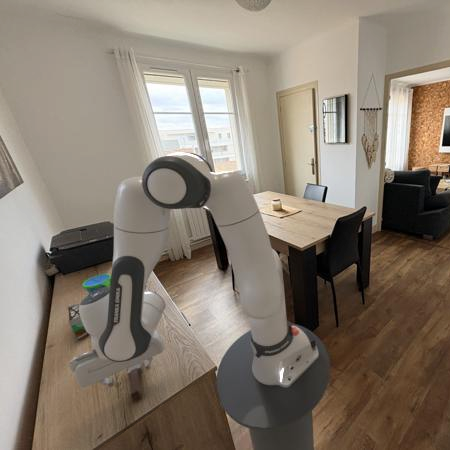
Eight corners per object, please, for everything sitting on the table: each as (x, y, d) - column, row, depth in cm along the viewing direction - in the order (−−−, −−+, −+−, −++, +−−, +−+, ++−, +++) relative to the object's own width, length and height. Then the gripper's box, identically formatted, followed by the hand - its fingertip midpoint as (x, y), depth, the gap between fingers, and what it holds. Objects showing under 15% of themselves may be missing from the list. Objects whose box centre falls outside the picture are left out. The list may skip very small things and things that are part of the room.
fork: (144, 395, 70) (141, 388, 69) (130, 403, 68) (126, 396, 67) (142, 362, 81) (139, 356, 80) (129, 368, 79) (127, 361, 78)
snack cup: (125, 294, 117) (118, 276, 113) (102, 308, 108) (93, 289, 104) (106, 288, 123) (99, 271, 119) (82, 300, 114) (74, 282, 110)
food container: (99, 333, 94) (89, 313, 90) (78, 342, 90) (68, 322, 87) (95, 317, 102) (86, 298, 99) (76, 325, 99) (67, 306, 95)
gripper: (63, 370, 58) (84, 407, 63) (158, 331, 69) (169, 365, 74) (68, 352, 63) (87, 387, 68) (156, 318, 74) (166, 351, 79)
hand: (130, 376), depth 71 cm, fingers open, 8 cm apart
